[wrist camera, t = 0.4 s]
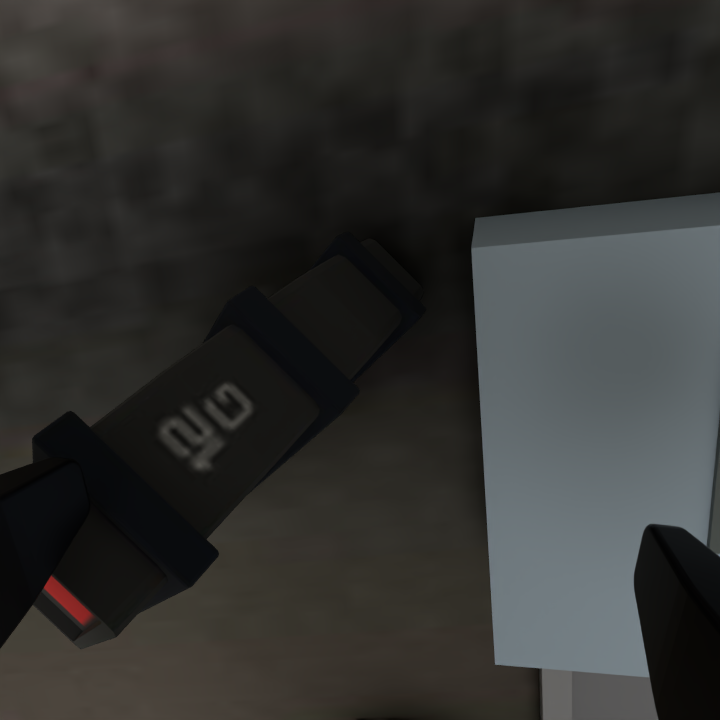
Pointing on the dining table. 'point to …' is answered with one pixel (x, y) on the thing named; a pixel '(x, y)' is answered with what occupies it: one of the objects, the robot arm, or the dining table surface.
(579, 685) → the tray
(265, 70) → the dining table surface
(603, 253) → the box
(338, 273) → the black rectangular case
